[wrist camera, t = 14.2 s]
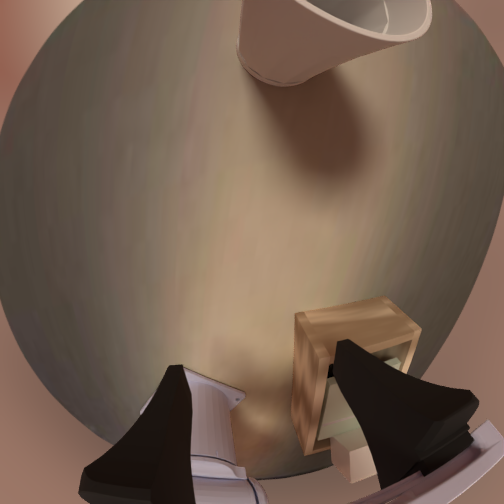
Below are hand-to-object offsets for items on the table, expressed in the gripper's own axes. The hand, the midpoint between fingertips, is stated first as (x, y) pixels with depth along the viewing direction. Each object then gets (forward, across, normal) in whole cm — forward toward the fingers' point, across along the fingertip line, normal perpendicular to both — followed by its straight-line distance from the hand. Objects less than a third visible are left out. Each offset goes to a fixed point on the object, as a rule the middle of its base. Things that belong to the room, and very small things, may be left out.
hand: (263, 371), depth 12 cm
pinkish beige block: (+4, -9, +18) cm, 21 cm away
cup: (+11, -4, -17) cm, 21 cm away
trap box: (+10, -9, +11) cm, 18 cm away
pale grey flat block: (+4, -9, +13) cm, 17 cm away
